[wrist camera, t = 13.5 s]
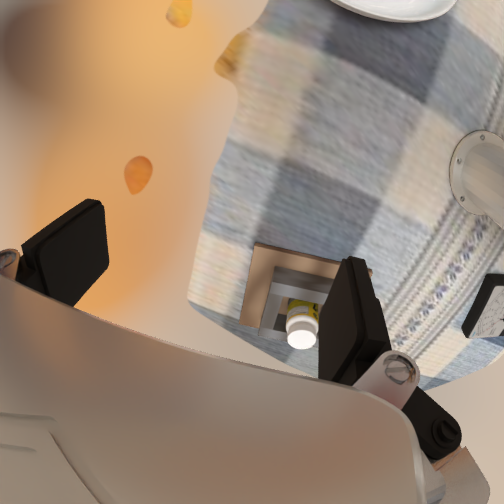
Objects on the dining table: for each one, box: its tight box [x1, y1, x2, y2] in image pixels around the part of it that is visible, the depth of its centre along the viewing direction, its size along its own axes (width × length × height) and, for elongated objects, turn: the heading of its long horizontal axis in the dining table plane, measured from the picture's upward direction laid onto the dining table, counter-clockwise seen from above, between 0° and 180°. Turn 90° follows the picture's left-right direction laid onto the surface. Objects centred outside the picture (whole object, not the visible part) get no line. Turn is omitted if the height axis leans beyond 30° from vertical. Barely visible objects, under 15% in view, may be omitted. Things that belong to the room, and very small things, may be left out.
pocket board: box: [239, 243, 373, 348], centre depth 44 cm, size 18×16×5 cm
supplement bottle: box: [286, 298, 318, 349], centre depth 42 cm, size 5×5×8 cm
